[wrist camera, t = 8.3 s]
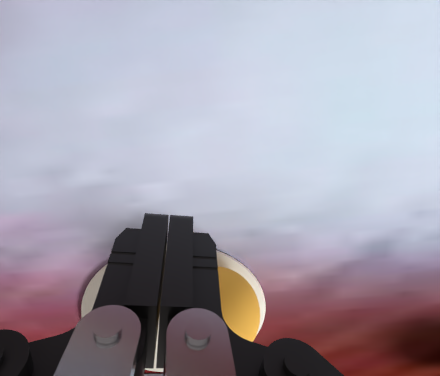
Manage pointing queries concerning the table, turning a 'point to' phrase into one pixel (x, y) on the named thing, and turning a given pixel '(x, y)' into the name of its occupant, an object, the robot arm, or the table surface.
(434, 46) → the table surface
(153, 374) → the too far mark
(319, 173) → the table surface
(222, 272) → the ball
